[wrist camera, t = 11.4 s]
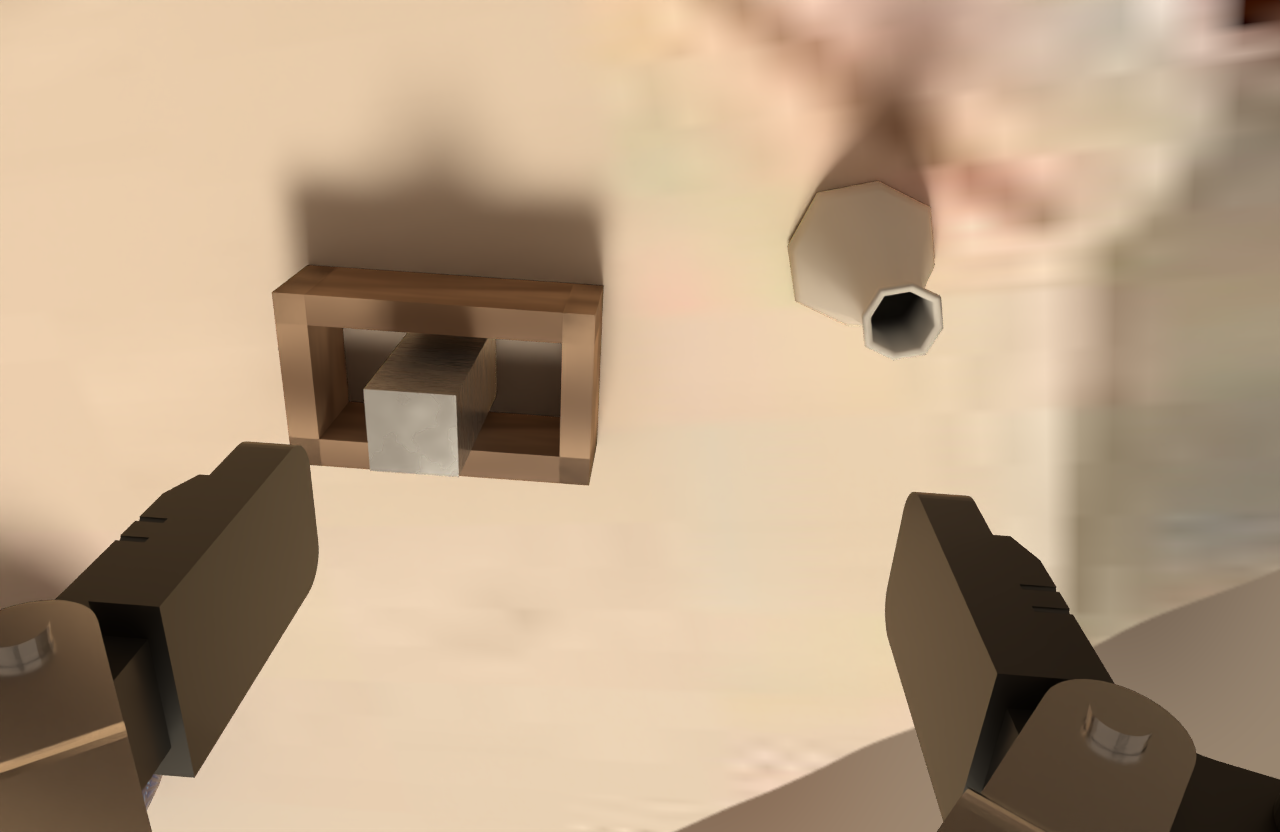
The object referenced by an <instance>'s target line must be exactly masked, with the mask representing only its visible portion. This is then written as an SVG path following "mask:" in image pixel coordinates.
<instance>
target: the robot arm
mask: <svg viewBox="0 0 1280 832" xmlns="http://www.w3.org/2000/svg"><path fill="white" fill-rule="evenodd" d="M318 554H319V546H318V536H317V527H316V517H315V508H314V499H313V490H312V481H311V472H310V464H309V458H308V455H307V452H306V451H305V449H304V448H303V447H302V446H300V445H287V444H274V443H260V442H242V443H240V444H239V445H238V446H237V447H236V448H235V449H234V450H233V451H232V452H231V453H230V454H229V455H228V456H227V457H226V458H225V459H224V460H223V462H222V463H221V464H220V465H219V466H218V467H217V468H216V469H215V470H214V471H213V472H212V473H211V474H210V475H197V476H195V477H194V478H192V479H190V480H188V481H186V482H184V483H182V484H180V485H178V486H176V487H174V488H173V489H171V490H169V491H167V492H165V493H163V494H162V495H161V496H160V497H159V498H158V499H157V500H156V501H155V502H154V503H153V504H152V505H151V506H150V507H149V508H148V509H147V510H146V511H145V512H144V513H143V514H142V515H141V516H140V520H139V521H135V522H134V523H133V524H132V525H131V526H130V527H129V528H128V529H127V530H125V531H124V532H123V533H122V534H121V538H120V541H118V540H115V541H114V542H113V543H112V544H111V545H110V546H109V547H108V548H107V549H106V550H105V551H104V552H103V553H102V554H101V555H100V556H99V557H98V558H97V559H96V560H95V561H94V562H93V563H92V564H91V565H90V566H89V567H88V568H87V569H86V570H85V571H84V572H83V573H82V574H81V575H80V576H79V577H78V578H77V579H76V580H75V581H74V582H73V583H72V584H71V585H70V586H69V587H68V588H67V589H66V590H64V591H63V592H62V593H61V594H60V595H59V596H58V597H57V598H56V599H55V600H41V601H34V602H27V603H22V604H18V605H14V606H10V607H7V608H4V609H1V610H0V832H152V830H151V826H150V822H149V818H148V814H147V810H146V806H145V802H144V798H143V794H142V791H143V789H144V788H145V786H146V785H147V783H148V782H149V780H150V779H151V777H152V776H153V774H156V775H169V776H181V777H194V778H195V776H196V774H197V773H198V771H199V770H200V768H201V766H202V765H203V763H204V761H205V760H206V758H207V757H208V755H209V753H210V752H211V750H212V749H213V747H214V745H215V744H216V742H217V740H218V739H219V737H220V736H221V734H222V732H223V731H224V729H225V727H226V726H227V724H228V723H229V721H230V719H231V718H232V716H233V714H234V713H235V711H236V710H237V708H238V706H239V705H240V703H241V701H242V700H243V698H244V697H245V695H246V693H247V692H248V690H249V689H250V687H251V685H252V684H253V682H254V680H255V679H256V677H257V676H258V674H259V672H260V671H261V669H262V667H263V666H264V664H265V663H266V661H267V659H268V658H269V656H270V654H271V653H272V651H273V650H274V648H275V646H276V645H277V643H278V641H279V640H280V638H281V637H282V635H283V633H284V632H285V630H286V629H287V627H288V625H289V624H290V622H291V620H292V619H293V617H294V616H295V614H296V612H297V611H298V609H299V607H300V606H301V604H302V603H303V601H304V599H305V598H306V596H307V594H308V593H309V591H310V589H311V587H312V584H313V581H314V578H315V575H316V570H317V564H318ZM885 621H886V631H887V636H888V640H889V643H890V646H891V650H892V653H893V656H894V660H895V663H896V666H897V669H898V673H899V676H900V679H901V683H902V686H903V689H904V693H905V696H906V699H907V703H908V706H909V709H910V713H911V716H912V719H913V722H914V726H915V729H916V732H917V736H918V739H919V742H920V746H921V749H922V752H923V756H924V758H925V762H926V765H927V769H928V772H929V775H930V778H931V782H932V785H933V789H934V792H935V795H936V799H937V802H938V805H939V809H940V812H941V815H942V818H943V823H942V825H941V827H940V828H939V829H938V831H937V832H1280V780H1279V779H1276V778H1273V777H1269V776H1266V775H1263V774H1259V773H1256V772H1252V771H1249V770H1246V769H1243V768H1239V767H1236V766H1233V765H1229V764H1226V763H1223V762H1219V761H1216V760H1213V759H1210V758H1207V757H1204V756H1202V755H1199V754H1197V753H1196V749H1195V746H1194V743H1193V741H1192V739H1191V737H1190V735H1189V734H1188V732H1187V731H1186V729H1185V728H1184V727H1183V726H1182V725H1181V723H1180V722H1179V721H1178V720H1177V719H1176V718H1175V717H1174V716H1172V715H1171V714H1170V713H1169V712H1168V711H1167V710H1165V709H1164V708H1163V707H1161V706H1160V705H1158V704H1157V703H1155V702H1154V701H1152V700H1150V699H1149V698H1147V697H1145V696H1143V695H1141V694H1139V693H1137V692H1135V691H1133V690H1130V689H1127V688H1125V687H1123V686H1119V685H1116V684H1114V682H1113V680H1112V679H1111V677H1110V675H1109V674H1108V672H1107V671H1106V669H1105V667H1104V665H1103V664H1102V662H1101V660H1100V659H1099V657H1098V655H1097V654H1096V652H1095V650H1094V649H1093V647H1092V645H1091V644H1090V642H1089V640H1088V639H1087V637H1086V636H1085V634H1084V632H1083V631H1082V629H1081V627H1080V626H1079V624H1078V622H1077V621H1076V619H1075V617H1074V616H1073V615H1071V614H1069V607H1068V606H1067V604H1066V602H1065V601H1064V599H1063V597H1062V596H1061V594H1060V592H1056V586H1055V584H1054V582H1053V581H1052V579H1051V577H1050V576H1049V574H1048V572H1047V571H1046V569H1045V567H1044V566H1043V564H1042V563H1041V561H1040V560H1039V559H1038V558H1037V557H1035V556H1034V555H1033V554H1032V553H1030V552H1029V551H1028V550H1027V549H1025V548H1024V547H1023V546H1022V545H1020V544H1019V543H1018V542H1017V541H1015V540H1014V539H1013V538H1012V537H1011V536H1000V535H992V533H991V531H990V529H989V527H988V525H987V524H986V522H985V520H984V518H983V516H982V514H981V513H980V511H979V509H978V507H977V505H976V503H975V502H974V500H973V499H972V498H971V497H970V496H963V495H949V494H935V493H922V492H912V493H911V494H910V495H909V496H908V498H907V500H906V503H905V507H904V511H903V515H902V520H901V525H900V530H899V534H898V539H897V544H896V549H895V553H894V558H893V563H892V568H891V572H890V577H889V582H888V587H887V592H886V602H885Z"/></svg>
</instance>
